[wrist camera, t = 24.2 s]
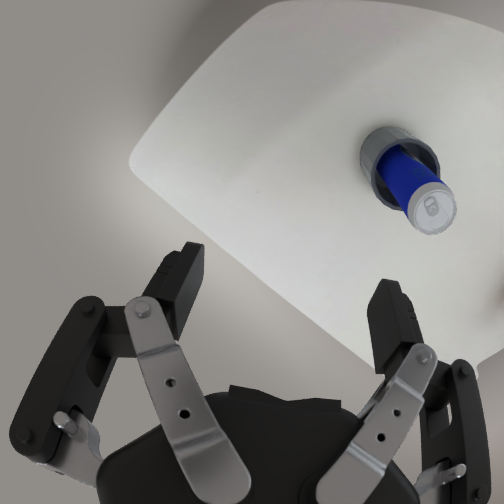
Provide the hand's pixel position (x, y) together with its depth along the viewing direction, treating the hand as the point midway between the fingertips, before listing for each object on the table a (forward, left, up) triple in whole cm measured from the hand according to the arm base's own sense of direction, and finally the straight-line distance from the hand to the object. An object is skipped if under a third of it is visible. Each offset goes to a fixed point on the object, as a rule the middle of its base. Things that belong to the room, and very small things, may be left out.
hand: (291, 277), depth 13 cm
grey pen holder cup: (+1, +13, -28) cm, 31 cm away
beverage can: (+1, +13, -27) cm, 30 cm away
